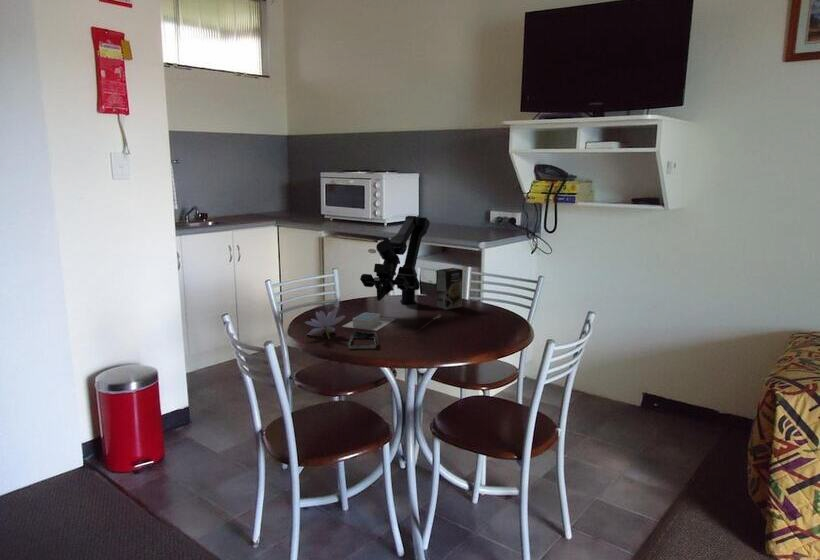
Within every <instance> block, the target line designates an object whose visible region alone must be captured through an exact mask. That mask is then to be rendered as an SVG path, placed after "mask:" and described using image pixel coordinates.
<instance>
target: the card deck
mask: <svg viewBox="0 0 820 560" xmlns="http://www.w3.org/2000/svg"><path fill="white" fill-rule="evenodd" d="M380 317H381V313H374V312H362V313H360V314H359V315H357V316H355V317H353V318H352V321H353V327H361V328H370V327H372V326H374V325H376V324H377V323H379V322H380Z"/></svg>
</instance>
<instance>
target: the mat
mask: <svg viewBox="0 0 820 560" xmlns="http://www.w3.org/2000/svg"><path fill="white" fill-rule="evenodd" d="M395 320H396V318H392V317H384V316H380V322H379V323H377V324H376V325H374V326H372V327H370V328H361V327H353V320H352V321H349V322H348V323H346V324H343V325H342V326H341V328H342V327H343V328H349V329H350V328H352V329H358V330H368V331H376V332H377V331H378V330H380V329H382V328H384V327H385V326H387V325H388V324H390V323H392V322H394V321H395Z"/></svg>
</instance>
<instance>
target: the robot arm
mask: <svg viewBox="0 0 820 560" xmlns="http://www.w3.org/2000/svg"><path fill="white" fill-rule="evenodd" d="M429 228H430V220H429V219H428V217H422V216H417V215H406V216H405V218H404V222H403V224H401V227H400V229H399V231H398V232H397V233H396V235H394V236H392V237H391V238H383V240H381V241H380V242H378V243H377V244H376V245H375V246H376V248H375V249H376V251H377V252H378V254H379V257H380V258H381V259H382V260H383V263H374V268H373V272H374V273H375V277H374V276H373V274H371V273H363V274H361V276H360V278H359V280H360V281H361V283H362V285H363V287H366V288H373V287H375V288H376V300H377V301H378V302H380V301H382V299H383V298H384V297H386V296H387V295H388V294H389V293H390V292H393V291H394V288H395V287H394V286H396V288H397V289H398V290H400V291H401V299H399V301H400V303H401V305H415V304H417V300H416V291H417V290H420V287H421V286H420V285H421V283H420V282H419V279H418V273H417V270H416V264H417V261H418V260H417V259H418V257H419V252H420V248H421V244H422V243H421V241H422V240H423V239H422V238H423V237H424V236H425V235H426V234H427V233H428V230H429ZM408 240H409V242H408ZM407 242H408V245H407ZM405 253H406V256H405V259H404V263H403V265H402V266H399V268H398V265H400V264H401V260H400V257H399V255H400V256H401V255H402V256H403V255H404V254H405ZM397 268H398V271H397ZM396 271H397V272H396Z"/></svg>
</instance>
